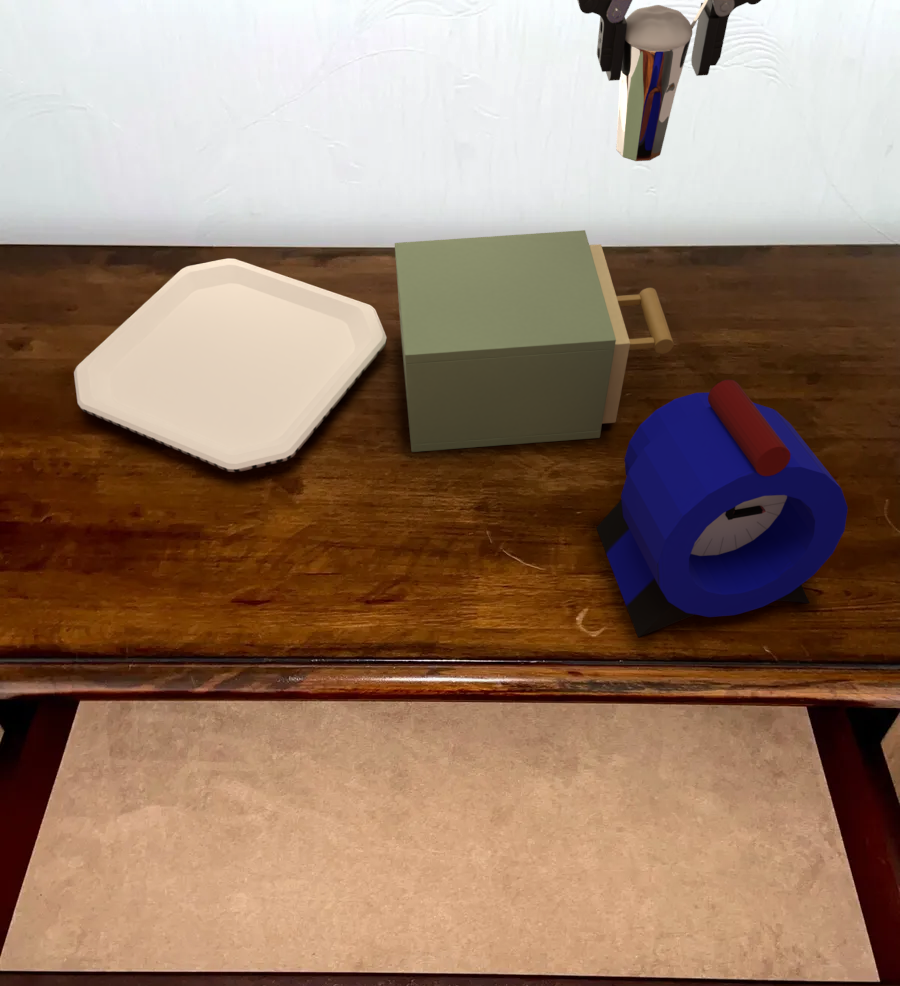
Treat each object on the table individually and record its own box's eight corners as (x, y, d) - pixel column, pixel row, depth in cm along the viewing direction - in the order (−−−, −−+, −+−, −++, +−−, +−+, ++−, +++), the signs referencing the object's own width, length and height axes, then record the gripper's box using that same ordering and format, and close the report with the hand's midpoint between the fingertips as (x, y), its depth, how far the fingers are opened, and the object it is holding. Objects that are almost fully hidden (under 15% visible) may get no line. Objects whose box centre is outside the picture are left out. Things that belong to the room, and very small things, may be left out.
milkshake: (688, 164, 67) (718, 11, 58) (612, 168, 67) (631, 16, 58) (675, 130, 69) (702, -22, 61) (602, 133, 69) (620, -18, 61)
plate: (55, 412, 75) (45, 391, 74) (208, 267, 86) (203, 245, 84) (271, 502, 70) (266, 482, 68) (407, 336, 80) (406, 314, 78)
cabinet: (573, 330, 80) (585, 229, 72) (599, 438, 73) (616, 339, 65) (401, 342, 80) (394, 242, 72) (411, 452, 72) (404, 354, 65)
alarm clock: (641, 645, 62) (684, 496, 50) (587, 505, 69) (614, 344, 57) (814, 612, 64) (898, 459, 51) (745, 478, 71) (805, 315, 58)
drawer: (639, 321, 79) (655, 240, 73) (669, 419, 73) (689, 338, 66) (429, 336, 79) (426, 255, 72) (441, 436, 72) (438, 356, 66)
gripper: (580, -230, 47) (556, 108, 61) (864, -245, 47) (776, 95, 61) (559, -275, 51) (542, 51, 65) (821, -288, 52) (748, 39, 66)
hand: (656, 71), depth 63 cm, fingers closed on milkshake, 5 cm apart
